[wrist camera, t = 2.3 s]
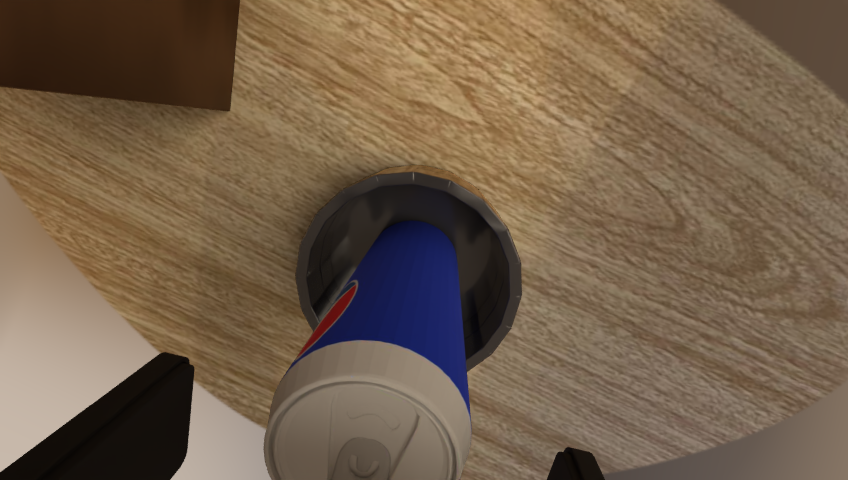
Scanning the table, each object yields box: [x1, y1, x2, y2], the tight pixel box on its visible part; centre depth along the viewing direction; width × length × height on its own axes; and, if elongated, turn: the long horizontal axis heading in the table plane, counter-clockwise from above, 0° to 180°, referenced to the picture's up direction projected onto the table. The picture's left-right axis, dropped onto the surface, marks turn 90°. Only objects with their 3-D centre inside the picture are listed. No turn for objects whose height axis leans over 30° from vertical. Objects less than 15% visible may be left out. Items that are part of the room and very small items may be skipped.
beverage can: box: [264, 221, 472, 480], centre depth 16 cm, size 5×5×15 cm
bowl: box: [295, 165, 522, 372], centre depth 22 cm, size 11×11×4 cm
